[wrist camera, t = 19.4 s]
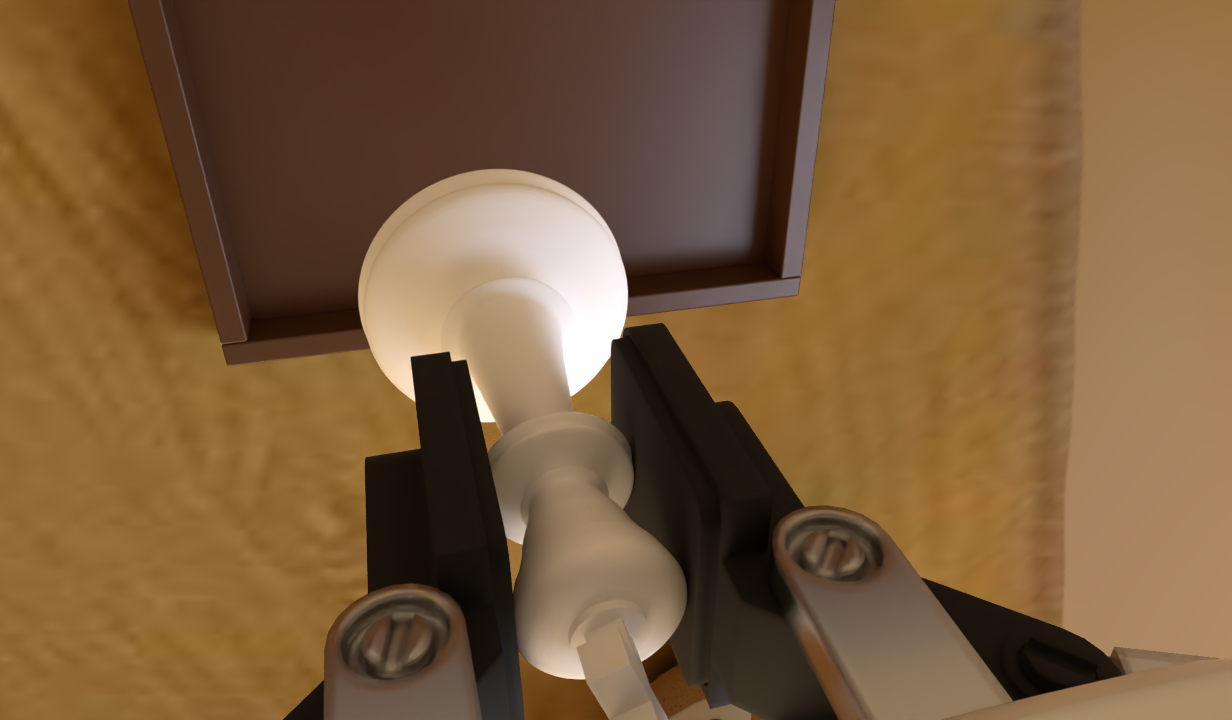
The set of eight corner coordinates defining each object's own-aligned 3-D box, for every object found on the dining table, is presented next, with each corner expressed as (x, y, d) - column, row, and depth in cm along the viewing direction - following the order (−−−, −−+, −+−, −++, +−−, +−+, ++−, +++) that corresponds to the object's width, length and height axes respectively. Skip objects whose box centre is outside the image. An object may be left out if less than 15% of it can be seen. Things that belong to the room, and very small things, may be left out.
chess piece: (569, 122, 15) (856, 482, 7) (654, 343, 18) (931, 792, 9) (304, 239, 15) (253, 762, 6) (432, 444, 17) (515, 992, 9)
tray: (111, -131, 22) (91, -129, 20) (819, -135, 26) (852, -134, 24) (234, 335, 29) (226, 367, 27) (775, 272, 33) (799, 296, 31)
